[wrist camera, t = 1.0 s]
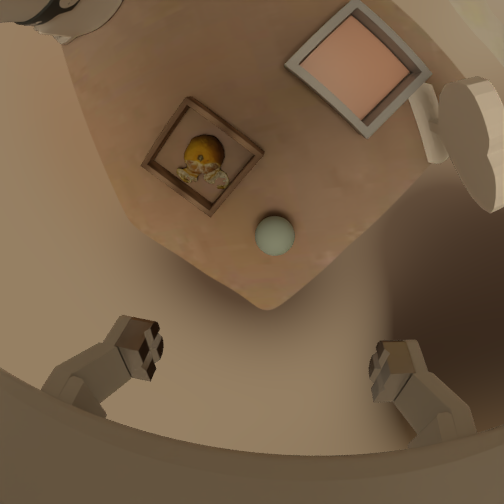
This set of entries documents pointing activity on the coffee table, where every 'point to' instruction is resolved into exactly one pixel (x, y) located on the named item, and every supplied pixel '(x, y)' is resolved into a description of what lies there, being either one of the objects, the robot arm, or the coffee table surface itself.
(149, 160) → the fruit tray
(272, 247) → the ball
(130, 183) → the coffee table surface
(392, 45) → the grey square tray
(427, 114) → the heart sculpture
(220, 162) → the fruit
